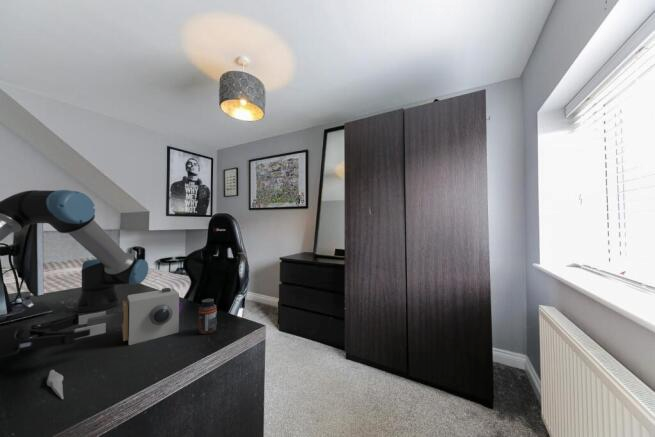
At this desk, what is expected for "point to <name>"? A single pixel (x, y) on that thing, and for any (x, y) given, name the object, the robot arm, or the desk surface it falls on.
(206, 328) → the supplement bottle
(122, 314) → the door
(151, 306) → the camera body
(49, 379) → the grey tapered wedge
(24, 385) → the desk surface
